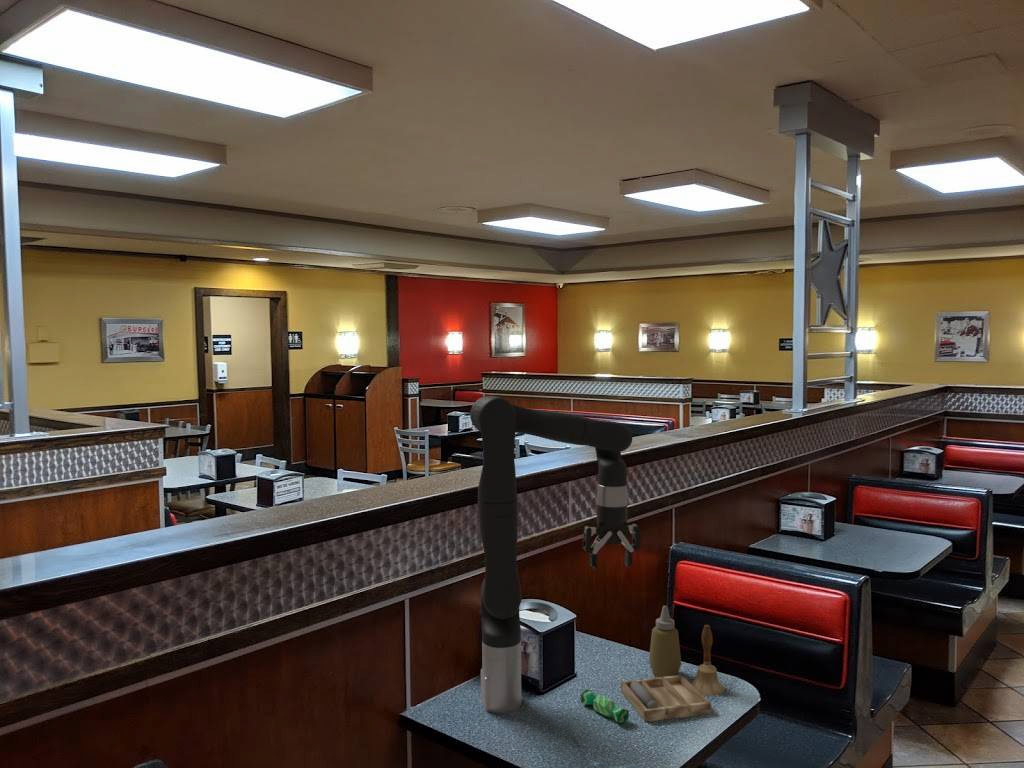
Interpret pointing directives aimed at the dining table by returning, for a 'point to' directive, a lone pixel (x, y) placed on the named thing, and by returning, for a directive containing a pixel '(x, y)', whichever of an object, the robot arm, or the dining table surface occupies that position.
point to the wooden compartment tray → (667, 698)
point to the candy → (604, 706)
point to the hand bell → (707, 669)
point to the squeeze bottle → (665, 647)
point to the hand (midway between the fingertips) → (611, 567)
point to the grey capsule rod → (643, 695)
